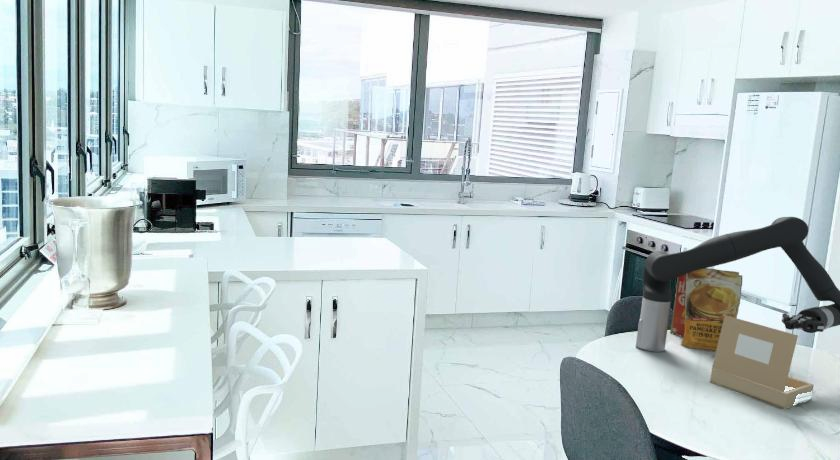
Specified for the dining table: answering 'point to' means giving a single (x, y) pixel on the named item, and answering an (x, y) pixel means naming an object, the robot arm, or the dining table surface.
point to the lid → (755, 352)
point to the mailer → (761, 388)
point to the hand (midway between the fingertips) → (788, 325)
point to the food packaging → (679, 307)
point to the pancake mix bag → (709, 305)
